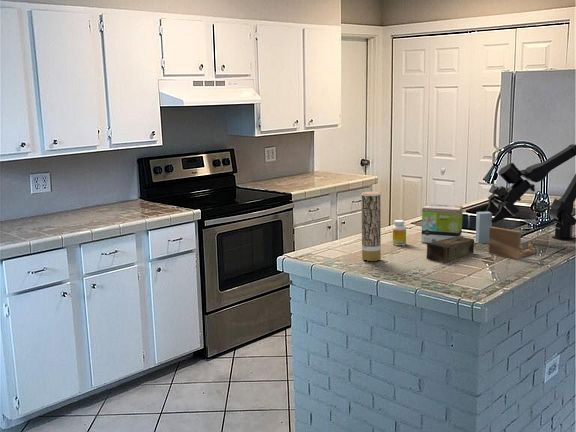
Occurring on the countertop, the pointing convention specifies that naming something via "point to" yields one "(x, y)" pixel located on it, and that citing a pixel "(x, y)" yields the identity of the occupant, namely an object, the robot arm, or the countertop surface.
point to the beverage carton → (450, 249)
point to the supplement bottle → (399, 233)
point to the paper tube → (371, 226)
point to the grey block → (483, 226)
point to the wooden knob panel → (507, 243)
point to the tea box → (441, 222)
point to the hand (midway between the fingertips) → (487, 219)
